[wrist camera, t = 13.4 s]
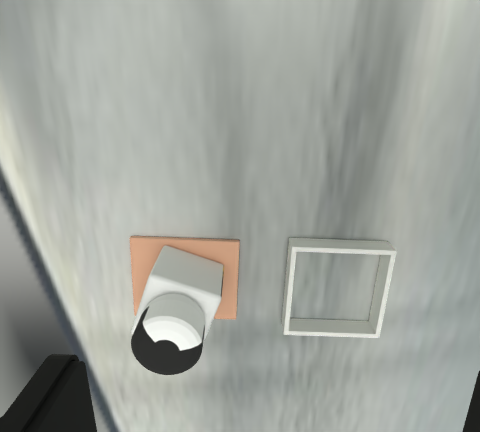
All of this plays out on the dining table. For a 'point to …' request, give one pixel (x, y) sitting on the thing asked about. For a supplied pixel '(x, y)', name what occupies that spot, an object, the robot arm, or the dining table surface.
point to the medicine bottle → (176, 311)
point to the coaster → (212, 249)
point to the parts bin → (340, 326)
